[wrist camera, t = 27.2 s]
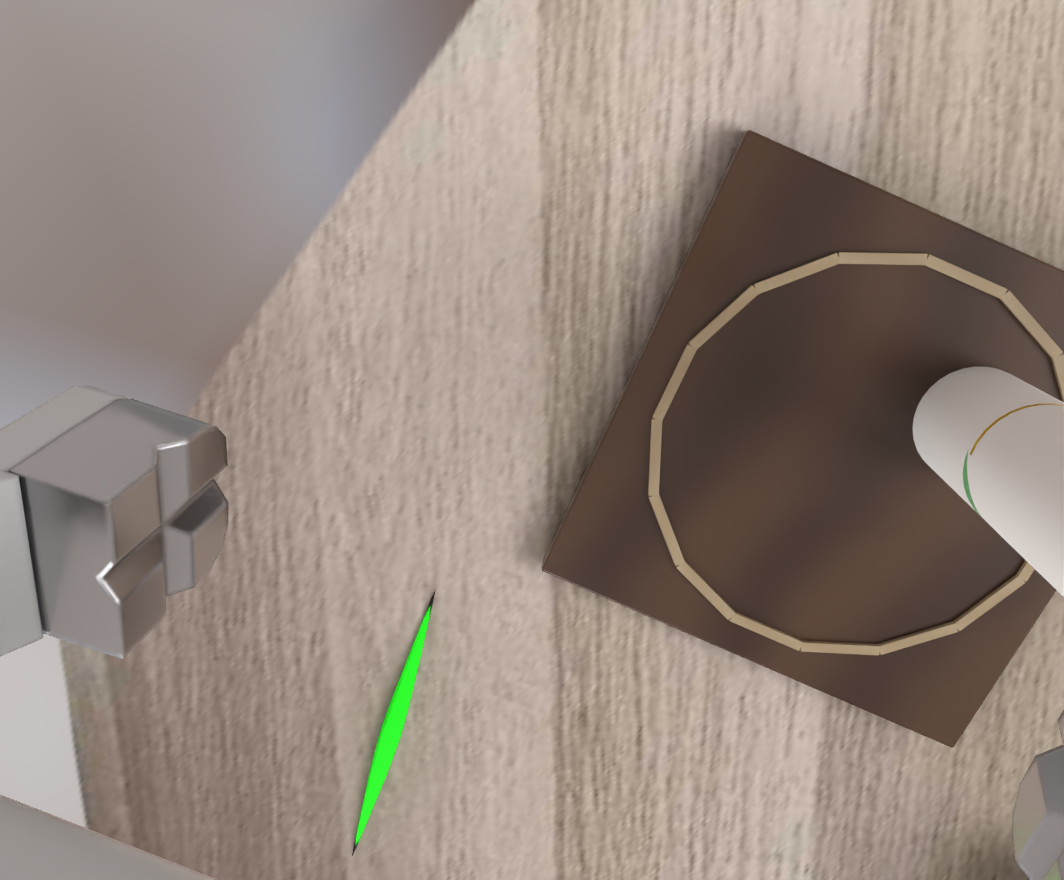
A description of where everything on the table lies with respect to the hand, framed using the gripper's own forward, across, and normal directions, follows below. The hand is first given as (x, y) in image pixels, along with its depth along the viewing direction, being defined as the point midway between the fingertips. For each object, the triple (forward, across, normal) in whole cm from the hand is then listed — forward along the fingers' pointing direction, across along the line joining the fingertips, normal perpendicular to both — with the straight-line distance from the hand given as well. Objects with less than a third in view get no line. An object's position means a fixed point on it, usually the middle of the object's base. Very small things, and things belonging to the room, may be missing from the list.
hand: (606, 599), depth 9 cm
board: (+27, -6, +12) cm, 30 cm away
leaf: (+21, +9, +27) cm, 35 cm away
